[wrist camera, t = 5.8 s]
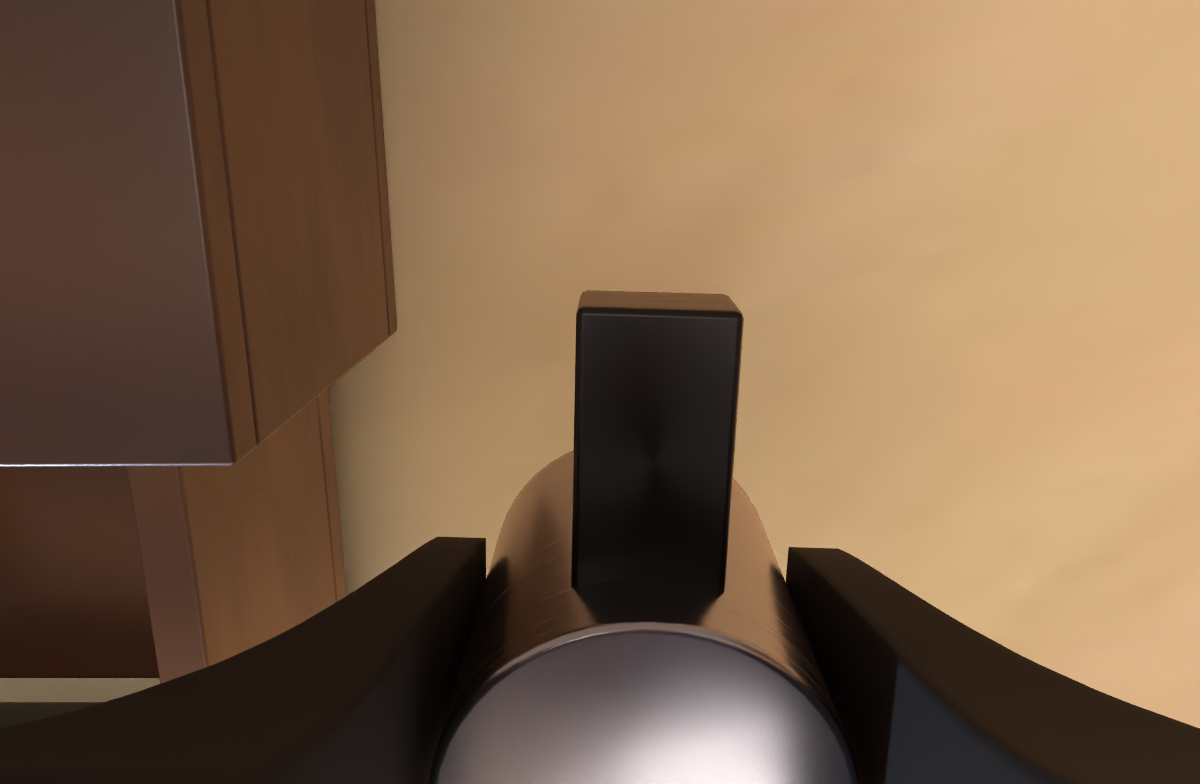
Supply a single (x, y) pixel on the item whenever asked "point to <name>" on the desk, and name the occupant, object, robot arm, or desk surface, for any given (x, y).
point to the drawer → (165, 561)
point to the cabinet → (184, 223)
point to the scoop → (642, 587)
